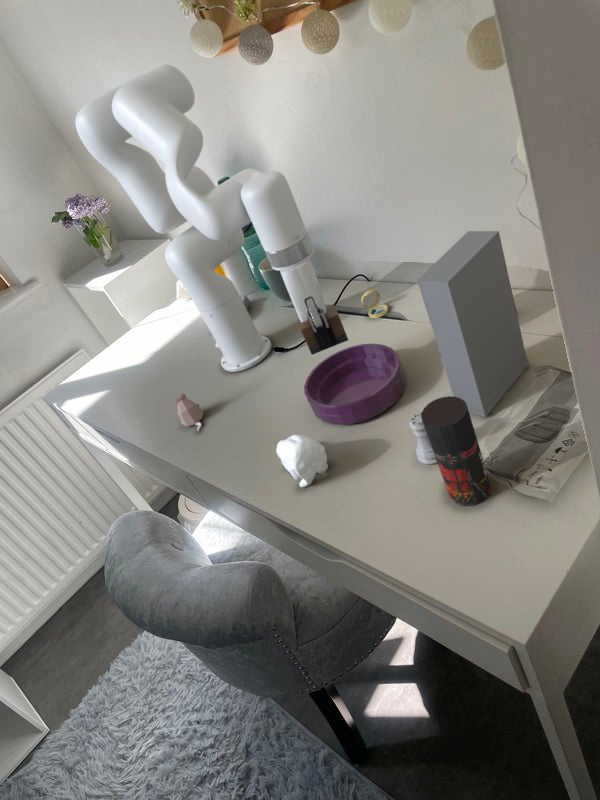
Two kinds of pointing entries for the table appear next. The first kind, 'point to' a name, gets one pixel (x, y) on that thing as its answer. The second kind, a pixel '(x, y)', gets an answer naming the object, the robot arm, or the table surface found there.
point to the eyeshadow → (373, 304)
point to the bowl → (355, 384)
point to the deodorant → (456, 450)
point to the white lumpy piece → (302, 457)
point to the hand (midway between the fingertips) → (326, 339)
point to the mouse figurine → (189, 411)
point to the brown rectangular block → (332, 320)
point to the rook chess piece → (422, 440)
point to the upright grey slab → (475, 320)
